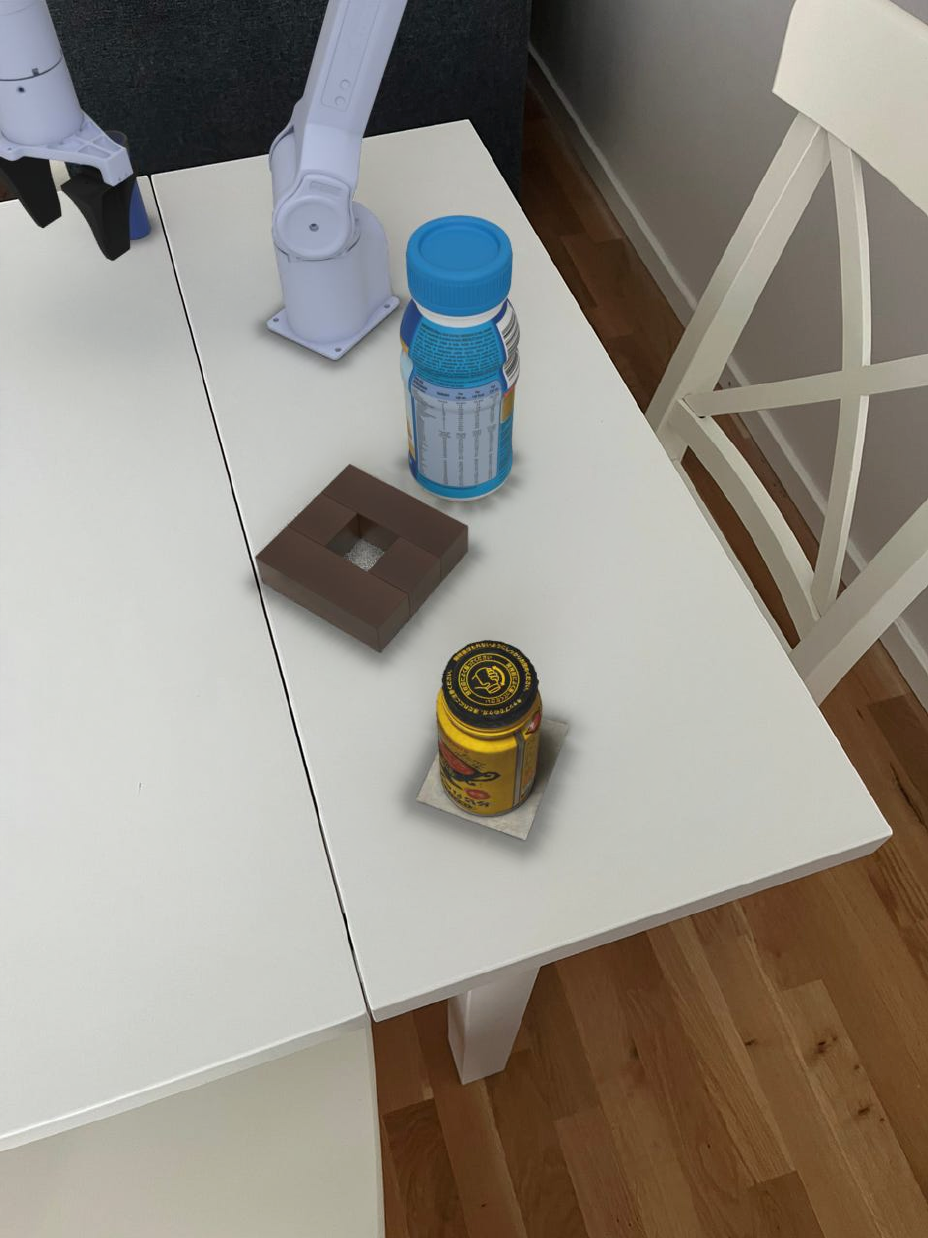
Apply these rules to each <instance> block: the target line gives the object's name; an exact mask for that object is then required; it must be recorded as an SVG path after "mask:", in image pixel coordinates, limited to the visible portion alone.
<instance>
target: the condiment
mask: <svg viewBox="0 0 928 1238" xmlns="http://www.w3.org/2000/svg"><path fill="white" fill-rule="evenodd" d="M539 684H540V680H539V679H538V672H537V671H536V668H535V666H534V664H532V662H531V660H530V658H529V657H528V656H526V654H524V652H522V650H521V649H519V648H518V647H516V646H514V645H512V644H509V643H506V642H504V641H500V640H492V639H484V640H480V641H474V642H471V643H468V644H466V645H465V646H463V647H462V648H461V649H459V650H458V651H456V652H455V653H453V655H452V656H451V657H450V658H449V659H448V661H447V663H446V665H445V668H444V669H443V672H442V677H441V687H440V689H439V691H438V693H437V698H436V712H435V716H436V728H437V731H436V732H437V747H438V748H437V749H438V751H437V753H436V756H435V757H434V760H433V762H432V764H431V766H430V768H429V771H428V773H427V775H426V777H425V780H424V781H423V784H422V786H421V788H420V791H419V792H418V795H417V796H416V798H415V800H416V801H418V802H421V803H423V804H426V805H429V806H431V807H433V808H436V809H439V810H442V811H444V812H445V813H446V812H447V813H450V814H452V815H454V816H456V817H457V816H458V817H459V818H462V819H465V820H467V821H471V822H474V823H477V824H479V825H482V826H484V827H487V828H490V829H493V830H496V831H498V832H502V833H505V834H508V835H511V836H513V837H515V838H518V839H521V840H523V841H526V840H527V837H528V834H529V832H530V830H531V827H532V824H533V821H534V820H535V817H536V814H537V811H538V808H539V806H540V803H541V801H542V798H543V795H544V792H545V790H546V788H547V785H548V782H549V780H550V777H551V774H552V772H553V769H554V766H555V764H556V761H557V759H558V756H559V754H560V751H561V748H562V745H563V742H564V740H565V737H566V734H567V732H568V730H569V727H570V726H569V724H566V723H562V722H560V721H554V720H552V719H549V718H545V717H543V711H544V710H543V699H542V696H541V692H540V690H539Z"/></svg>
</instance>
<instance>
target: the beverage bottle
mask: <svg viewBox="0 0 928 1238" xmlns="http://www.w3.org/2000/svg"><path fill="white" fill-rule="evenodd" d="M406 244H407V245H406V251H405V266H406V268H405V269H406V279H407V287H408V291H409V294H410V297H411V298H410V300H409V301H408V303H407V306H406V307H405V309H404V312H403V315H402V317H401V322H400V324H399V325H400V326H399V341H400V344H401V352H400V355H399V371H400V376H401V377H400V378H401V380H402V383H403V390H404V391H403V392H404V404H405V415H406V426H407V427H406V428H407V429H406V431H407V441H408V450H407V451H408V453H407V456H408V466H409V468H408V469H409V471H410V474H411V476H412V478H413V480H414V481H415V482H416V484H417V485H418V486H419V487H420V488H421V489H422V490H423V491H425V492H426V493H427V494H430V495H431V496H433V497H435V498H437V499H440V500H445V501H450V502H471V501H476V500H479V499H483V498H485V497H487V496H490V495H492V494H493V493H495V492H496V491H497V490H499V489H500V488H501V487H502V486H503V485H504V484H505V483H506V482H507V480H508V478H509V476H510V474H511V471H512V467H513V457H514V452H513V451H514V449H513V427H514V414H515V413H514V411H515V397H516V386H517V385H516V384H517V382H518V380H519V377H520V371H521V359H520V358H521V357H520V351H519V348H518V346H519V344H520V339H521V329H520V324H519V319H518V316H517V313H516V311H515V309H514V306H513V304H512V302H511V301H510V299H509V293H510V291H511V288H512V287H511V286H512V277H513V257H514V252H513V247H512V242H511V240H510V237H509V235H508V234H507V233H506V231H504V230H503V228H501V227H500V226H499V225H497V224H496V223H494V222H492V221H490V220H488V219H485V218H483V217H478V216H474V215H462V214H456V215H446V216H440V217H437V218H433V219H431V220H429V221H427V222H425V223H423V224H422V225H420V226H419V227H418V228H416V229H415V230H414V231H413V232H412V234H411V235H410V237H409V238H408V240H407V243H406Z"/></svg>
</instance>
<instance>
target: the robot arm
mask: <svg viewBox="0 0 928 1238" xmlns="http://www.w3.org/2000/svg"><path fill="white" fill-rule="evenodd" d="M407 3H408V0H328V3H327V7H326V10H325V13H324V17H323V21H322V24H321V29H320V32H319V35H318V40H317V43H316V47H315V50H314V54H313V58H312V62H311V65H310V69H309V73H308V77H307V80H306V84H305V86H304V91H303V95H302V97H301V98H300V99H299V100H298V101H296V103H295V104H294V106H293V110H292V114H291V117H290V120H289V121H288V123H287V125H286V126H285V127H284V129H282V131H281V132H280V133H278V134H277V136H276V137H275V138H274V140H273V141H272V143H271V145H270V148H269V152H268V169H269V172H270V175H271V194H272V211H271V230H270V231H271V237H272V242H273V248H274V253H275V259H276V260H275V261H276V264H277V265H276V266H277V270H278V275H279V276H278V277H279V281H280V288H281V292H282V298H283V303H284V307H283V308H282V309H281V310H280V311H278V312H277V313H276V314H274V315H273V316H272V317H271V318H270V319H269V320H268V321H266V327H267V329H269V330H271V331H272V332H274V333H277V334H278V335H280V336H283V337H285V338H287V339H288V340H291V341H293V342H295V343H297V344H299V345H301V346H303V347H305V348H307V349H310V350H311V351H313V352H316V353H318V354H320V355H322V356H324V357H325V358H328V359H330V360H333V361H337V360H339V359H340V358H342V357H343V356H344V355H345V354H346V353H347V352H349V351H350V350H351V349H353V347H354V346H355V345H356V344H357V343H359V342H360V341H361V340H362V339H363V338H364V337H365V336H366V335H367V334H369V332H371V331H372V330H373V329H374V328H375V327H377V326H378V324H379V323H381V322H382V321H383V320H384V319H385V318H386V317H388V315H390V314H391V313H392V312H393V311H394V310H395V309H396V308H398V307H399V306H400V299H399V298H398V297H396V296H394V295H392V283H391V282H392V281H391V269H390V255H389V243H388V238H387V235H386V231H385V229H384V227H383V225H382V223H381V221H380V220H379V218H378V217H377V216H376V214H375V213H374V212H373V211H372V210H370V209H369V208H368V207H367V206H366V205H364V204H362V203H360V202H358V201H354V197H355V193H356V190H357V186H358V181H359V173H360V164H361V162H360V161H361V153H362V145H363V137H364V135H365V131H366V129H367V125H368V122H369V119H370V116H371V113H372V110H373V107H374V104H375V101H376V98H377V95H378V92H379V89H380V85H381V82H382V79H383V76H384V73H385V71H386V67H387V64H388V61H389V58H390V55H391V52H392V49H393V46H394V43H395V40H396V37H397V34H398V31H399V28H400V24H401V21H402V19H403V16H404V13H405V9H406V6H407ZM75 89H76V88H75V87H74V84H73V81H72V78H71V74H70V70H69V68H68V65H67V63H66V59H65V56H64V53H63V50H62V47H61V44H60V41H59V38H58V35H57V31H56V28H55V25H54V22H53V19H52V16H51V13H50V10H49V6H48V4H47V0H0V178H1V179H2V180H3V181H4V183H5V184H6V185H7V186H8V187H9V188H10V190H11V191H12V193H13V194H14V196H15V197H16V198H17V199H18V201H19V203H20V204H21V205H22V207H23V208H24V210H25V211H26V212H27V214H28V215H29V217H30V218H31V220H32V221H33V222H34V224H35V225H36V226H37V227H39V228H41V229H45V228H47V227H48V226H49V225H51V224H52V223H54V222H56V221H57V220H58V219H60V218H61V217H63V215H62V213H63V212H62V205H61V201H60V197H59V193H58V190H57V187H56V183H55V179H54V177H53V176H54V175H53V173H52V167H51V162H50V161H57V162H65V163H71V164H77V165H79V168H80V171H81V172H78V173H76V175H74V176H73V177H71V178H69V179H68V180H65V182H63V183H62V184H60V190H61V192H62V193H64V195H66V196H67V197H68V198H69V199H70V200H71V201H72V203H73V204H74V205H75V206H76V208H77V209H78V210H79V212H80V213H81V215H82V216H83V218H84V219H85V221H86V223H87V224H88V226H89V228H90V231H91V232H92V235H93V237H94V239H95V242H96V244H97V246H98V248H99V250H100V252H101V253H102V255H103V256H104V257H105V259H107V260H109V261H111V262H115V261H116V260H117V259H119V258H120V257H121V256H123V255H124V254H126V253H127V252H128V251H130V250H131V239H130V203H131V197H132V192H133V188H134V184H135V181H136V178H138V175H139V171H140V170H139V167H138V164H137V161H136V160H135V159H133V157H130V158H129V157H128V153H127V150H126V148H125V147H122V146H120V145H118V144H117V143H115V142H114V141H113V140H111V139H110V138H109V137H108V136H107V135H106V134H105V133H104V131H103V129H101V127H100V126H99V125H98V124H97V123H96V122H95V121H94V120H93V119H92V118H91V117H90V116H89V115H88V113H86V112H85V111H84V110H83V109H82V108H81V105H80V102H79V99H78V97H77V93H76V90H75Z"/></svg>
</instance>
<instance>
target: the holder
mask: <svg viewBox="0 0 928 1238" xmlns="http://www.w3.org/2000/svg"><path fill="white" fill-rule="evenodd" d="M361 540H363V541H365V542H367V543H369V544H370V545H372V546H374V547H376V548H377V549H379V550H381V551H383V552H384V553H383V554H381V556H380V557H379V558H378V559H377V560H376V562H375V563H374V564H373V565H372V566H371V567H370V568H369V569H368V570H366V569H365V568H362V567H361V566H359V565H357V564H355V562H354V563H353V562H352V561H350V560H348V559H346V558H345V556H346V555H347V554H348V553H349V552H350V551H351V550H352V549H353V548H354V546H356V545H357V543H359V541H361ZM468 551H469V525H467V524H466V523H463V522H461V521H460V520H458V519H456V518H454V517H453V516H450V515H449V514H446V513H444V512H443V511H440V510H439V509H437V508H434V507H433V506H432V505H429V504H427V503H426V502H423V501H422V500H419V499H418V498H415V497H414V496H412V495H410V494H408V493H406V492H404V491H402V490H401V489H399V488H397V487H396V486H393V485H392V484H389V483H387V482H385V481H383V480H382V479H379V478H377V477H376V476H374V475H372V474H370V473H368V472H366V471H364V470H363V469H360V468H359V467H357V466H355V465H353V464H351V463H348V465H346V466H345V467H344V468H343V470H341V472H340V473H339V474H337V475H336V476H335V477H334V478H333V480H331V481H330V482H329V483H328V484H327V485H326V486H325V487H324V488H323V489H322V490H321V491H320V492H319V493H318V494H317V495H316V496H314V498H313V499H312V500H311V501H310V502H309V503H308V504H307V505H306V506H305V507H304V508H303V509H302V510H301V511H300V512H299V513H297V515H296V516H295V517H294V518H293V519H292V520H291V521H290V522H288V524H287V525H286V526H285V527H284V528H283V529H281V530H280V532H279V533H277V535H276V536H275V537H273V539H272V540H271V541H269V542H268V543H267V544H266V545H265V547H263V549H261V551H259V552H258V553H257V554H256V555H255V556H254V559H255V563H256V566H257V570H258V573H259V577H260V580H261V583H263V585H266V586H268V587H269V588H271V589H272V590H274V591H276V592H278V593H279V594H281V595H283V596H284V597H286V598H287V599H289V600H291V601H292V602H294V603H296V604H297V605H300V606H301V607H302V608H305V609H306V610H307V611H309V612H311V613H313V614H315V615H316V616H318V617H320V618H321V619H323V620H324V621H327V622H328V623H330V624H331V625H333V626H335V627H336V628H337V629H340V630H341V631H343V632H345V633H347V634H348V635H350V636H351V637H353V638H355V639H356V640H358V641H360V642H361V643H363V644H365V645H367V646H368V647H370V648H372V649H374V650H375V651H377V653H382V652H383V650H384V649H385V648H386V647H387V646H388V645H389V643H390V642H391V641H392V640H393V639H394V638H395V636H396V635H397V634H398V633H399V632H400V631H401V630H402V629H403V628H404V626H405V625H406V624H407V622H408V621H409V620H410V619H411V618H412V617H413V616H414V615H415V614H416V612H417V611H418V610H419V609H420V608H421V607H422V605H423V604H424V603H425V602H426V601H427V599H429V597H430V596H431V595H432V593H433V592H434V591H435V590H436V589H437V588H438V587H439V585H441V584H442V582H443V581H445V579H446V578H447V577H448V575H450V573H451V572H452V571H453V570H454V568H455V567H456V566H457V565H458V564H459V563H460V561H461V560H462V559H463V558H464V557H465V555H467V553H468Z"/></svg>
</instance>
